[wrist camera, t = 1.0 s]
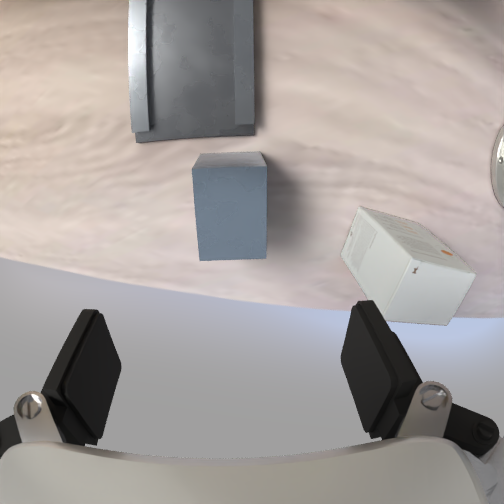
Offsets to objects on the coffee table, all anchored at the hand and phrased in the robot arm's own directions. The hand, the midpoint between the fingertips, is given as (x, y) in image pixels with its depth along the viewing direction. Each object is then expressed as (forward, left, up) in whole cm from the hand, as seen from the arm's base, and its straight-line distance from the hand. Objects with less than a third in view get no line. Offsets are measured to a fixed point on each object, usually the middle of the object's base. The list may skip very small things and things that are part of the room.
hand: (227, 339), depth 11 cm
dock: (+3, -14, -18) cm, 23 cm away
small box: (-15, +5, -18) cm, 24 cm away
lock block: (0, 0, -18) cm, 18 cm away
